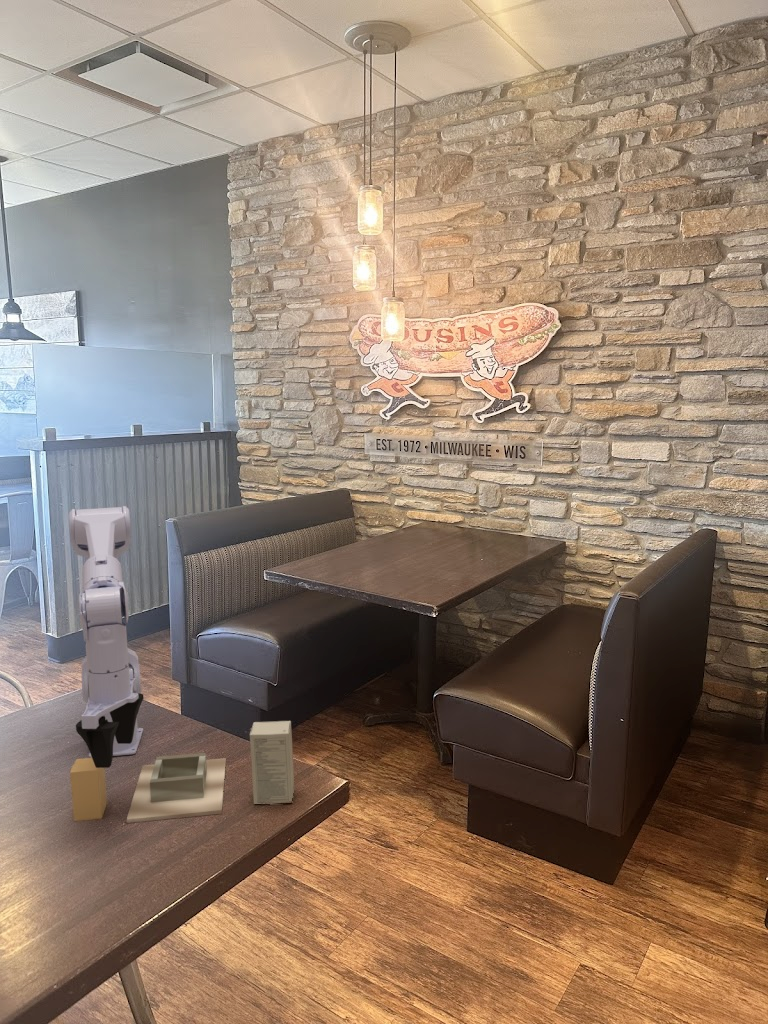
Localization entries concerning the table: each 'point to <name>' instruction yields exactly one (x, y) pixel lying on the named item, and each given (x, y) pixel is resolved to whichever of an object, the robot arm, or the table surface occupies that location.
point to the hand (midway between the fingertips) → (114, 754)
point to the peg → (88, 790)
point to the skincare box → (272, 762)
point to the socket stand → (178, 788)
